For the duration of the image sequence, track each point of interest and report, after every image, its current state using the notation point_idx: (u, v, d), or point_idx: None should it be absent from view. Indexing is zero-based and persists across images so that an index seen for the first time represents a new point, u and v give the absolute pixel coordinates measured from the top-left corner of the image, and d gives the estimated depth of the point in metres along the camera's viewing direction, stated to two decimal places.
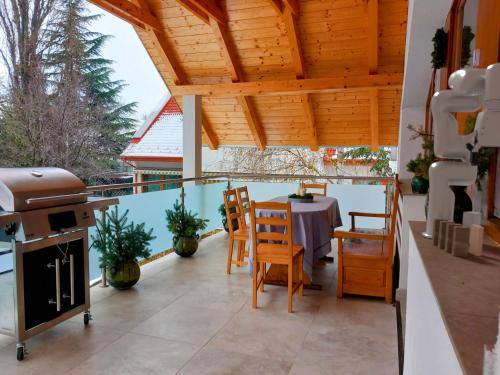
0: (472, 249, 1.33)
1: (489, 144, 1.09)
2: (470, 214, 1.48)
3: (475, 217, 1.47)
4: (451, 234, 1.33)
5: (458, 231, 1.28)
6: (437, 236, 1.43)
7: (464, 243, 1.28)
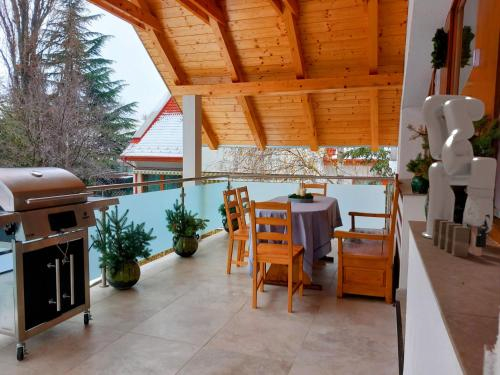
0: (472, 249, 1.33)
1: None
2: None
3: None
4: (451, 234, 1.33)
5: (457, 231, 1.28)
6: (437, 236, 1.43)
7: (464, 243, 1.28)
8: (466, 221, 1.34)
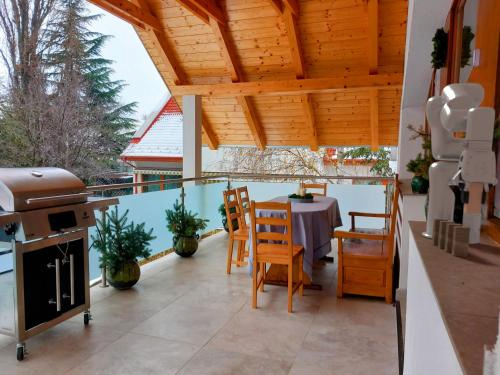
0: (473, 208, 1.22)
1: None
2: (470, 214, 1.48)
3: (475, 217, 1.47)
4: (451, 234, 1.33)
5: (458, 231, 1.28)
6: (437, 236, 1.43)
7: (464, 243, 1.28)
8: (473, 179, 1.19)
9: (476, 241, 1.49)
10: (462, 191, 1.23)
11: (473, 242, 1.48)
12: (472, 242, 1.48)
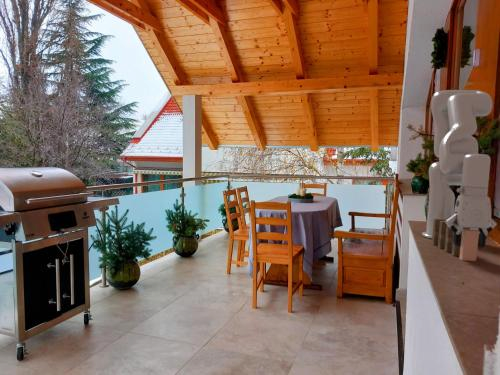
0: (468, 256, 1.24)
1: None
2: None
3: None
4: (451, 234, 1.33)
5: None
6: (437, 236, 1.43)
7: None
8: (468, 225, 1.21)
9: None
10: (454, 234, 1.24)
11: None
12: None
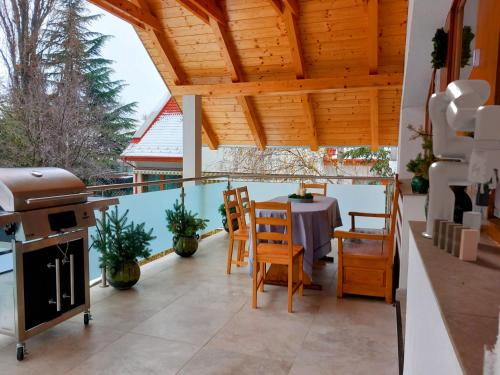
0: (468, 256, 1.24)
1: None
2: (470, 214, 1.48)
3: (475, 217, 1.47)
4: (451, 234, 1.33)
5: (457, 231, 1.28)
6: (437, 236, 1.43)
7: None
8: (471, 179, 1.19)
9: None
10: None
11: None
12: None
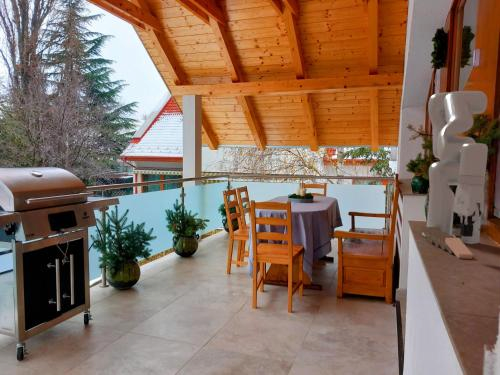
0: (463, 251, 1.27)
1: None
2: None
3: None
4: None
5: (443, 237, 1.38)
6: None
7: None
8: (456, 210, 1.27)
9: (476, 241, 1.49)
10: None
11: (473, 242, 1.48)
12: (472, 242, 1.48)
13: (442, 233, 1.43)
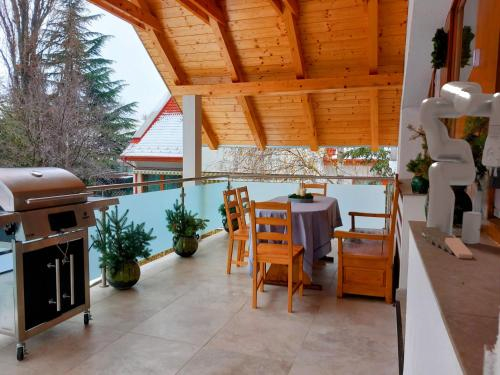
0: (463, 251, 1.27)
1: None
2: (470, 214, 1.48)
3: (475, 217, 1.47)
4: None
5: (442, 237, 1.38)
6: None
7: None
8: (485, 163, 1.25)
9: (476, 241, 1.49)
10: None
11: (473, 242, 1.48)
12: (472, 242, 1.48)
13: (442, 233, 1.43)
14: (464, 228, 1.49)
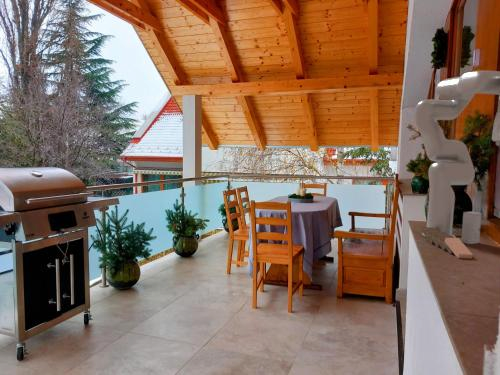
0: (463, 251, 1.27)
1: None
2: (470, 214, 1.48)
3: (475, 217, 1.48)
4: None
5: (442, 237, 1.38)
6: None
7: None
8: (495, 138, 1.26)
9: (476, 241, 1.49)
10: None
11: (473, 242, 1.48)
12: (472, 242, 1.48)
13: (442, 233, 1.44)
14: (464, 228, 1.49)
